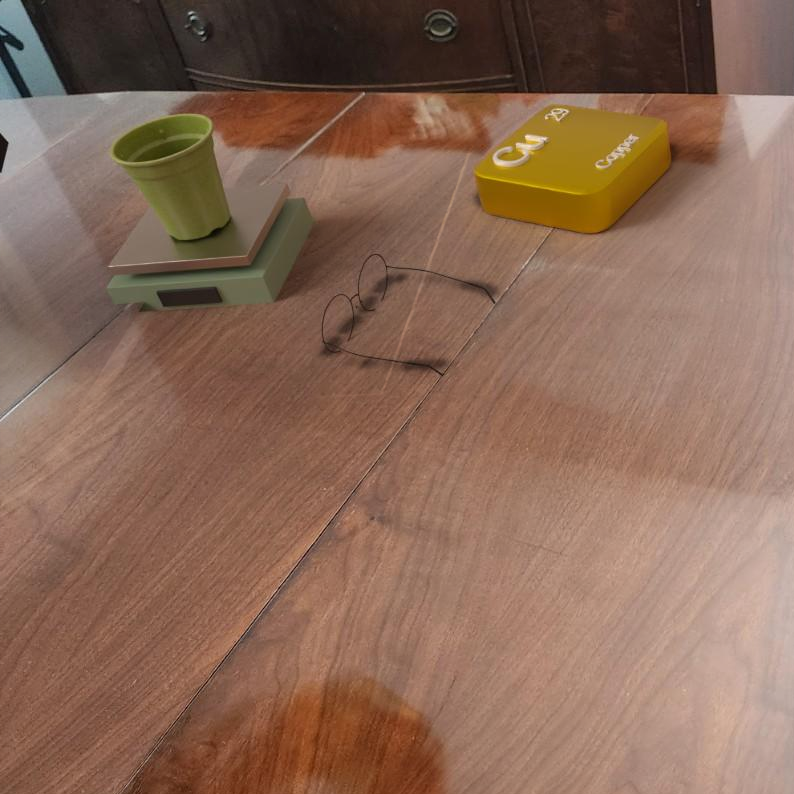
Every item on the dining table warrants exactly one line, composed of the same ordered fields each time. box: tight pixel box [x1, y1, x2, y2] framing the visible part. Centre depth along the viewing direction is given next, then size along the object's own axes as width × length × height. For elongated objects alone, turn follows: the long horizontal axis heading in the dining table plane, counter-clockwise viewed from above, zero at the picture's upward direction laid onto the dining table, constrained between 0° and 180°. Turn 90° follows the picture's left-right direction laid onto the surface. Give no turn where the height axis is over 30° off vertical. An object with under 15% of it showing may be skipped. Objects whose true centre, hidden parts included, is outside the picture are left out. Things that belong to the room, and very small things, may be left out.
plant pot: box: [109, 113, 230, 240], centre depth 104 cm, size 9×9×9 cm
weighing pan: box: [107, 182, 291, 277], centre depth 108 cm, size 14×13×1 cm
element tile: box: [472, 103, 672, 234], centre depth 110 cm, size 15×15×5 cm
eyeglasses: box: [321, 253, 497, 377], centre depth 97 cm, size 11×13×5 cm
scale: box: [105, 197, 315, 313], centre depth 109 cm, size 16×14×4 cm
